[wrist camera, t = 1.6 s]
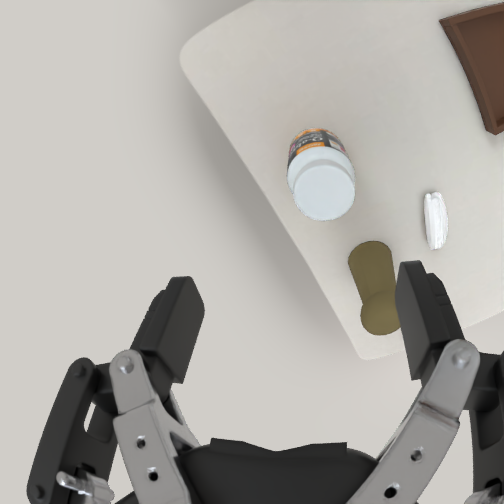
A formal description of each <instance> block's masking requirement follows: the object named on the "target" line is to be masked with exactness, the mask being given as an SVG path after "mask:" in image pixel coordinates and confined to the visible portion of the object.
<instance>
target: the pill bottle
mask: <svg viewBox="0 0 504 504" xmlns="http://www.w3.org/2000/svg"><path fill="white" fill-rule="evenodd" d="M287 182H288V185H289V188H290V190H291V192H292V194H293V196H294V200H295V203H296V205H297V207H298V208H299V210H300V211H301V212H302V213H303V214H304V215H306V216H307V217H309V218H312V219H315V220H319V221H329V220H334V219H337V218H339V217H341V216H342V215H344V214H345V213H346V212H347V211H348V210H349V209H350V207H351V206H352V204H353V202H354V198H355V187H354V184H355V171H354V167H353V165H352V163H351V161H350V159H349V157H348V155H347V153H346V151H345V149H344V147H343V145H342V143H341V141H340V140H339V139H338V137H337V136H336V135H334V134H333V133H332V132H330V131H328V130H325V129H322V128H311V129H307V130H304V131H302V132H301V133H299V134H298V135H297V136H296V137H295V138H294V139H293V141H292V143H291V146H290V150H289V159H288V170H287Z"/></svg>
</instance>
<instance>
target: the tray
mask: <svg viewBox="0 0 504 504" xmlns="http://www.w3.org/2000/svg"><path fill="white" fill-rule="evenodd" d="M439 22H440V23H441V25H442V27H443V29H444V30H445V32H446V34H447V36H448V38H449V40H450V41H451V43H452V45H453V47H454V49H455V51H456V53H457V55H458V57H459V60H460V62H461V64H462V66H463V68H464V70H465V73H466V75H467V77H468V80H469V82H470V85H471V87H472V90H473V92H474V95H475V98H476V100H477V103H478V106H479V109H480V112H481V115H482V118H483V121H484V125H485V128H486V131H489V132H490V133H492V134H494V135H497V134H499V133H501V132H503V131H504V2H503V3H498V4H494V5H489V6H485V7H481V8H477V9H474V10H470V11H467V12H463V13H460V14H457V15H453V16H450V17H447V18H444V19H441V20H439Z"/></svg>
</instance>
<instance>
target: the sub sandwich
mask: <svg viewBox="0 0 504 504" xmlns="http://www.w3.org/2000/svg"><path fill="white" fill-rule="evenodd" d="M424 216H425V226H426V234H427V240H428V244H429V247H430V249H431V250H435V248H436V249H440V248H441V247H442V246H443V245H444V243H445V241H446V237H447V232H448V216H447V210H446V205H445V202H444V200H443V198H442V195H441V194H440V193H439V192H434V193H432V194H431V195H430V194H426V196H425V200H424Z"/></svg>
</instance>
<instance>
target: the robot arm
mask: <svg viewBox="0 0 504 504" xmlns="http://www.w3.org/2000/svg"><path fill="white" fill-rule="evenodd" d="M395 306H396V310H397V314H398V318H399V322H400V326H401V331H402V335H403V339H404V344H405V349H406V353H407V358H408V363H409V369H410V374H411V380H418V379H421V384H422V388H421V389H420V391H419V393H418V395H417V397H416V398H415V400H414V402H413V404H412V405H411V407H410V409H409V410H408V412H407V414H406V415H405V417H404V419H403V420H402V422H401V423H400V425H399V427H398V428H397V430H396V431H395V432H394V434H393V435H392V437H391V438H390V439H389V441H388V442H387V444H386V445H385V446H384V448H383V449H382V450H381V452H380V453H379V455H378V456H377V457H376V459H375V458H373V457H371V456H370V455H368V454H366V453H363V452H361V451H358V450H354V449H349V448H347V442H342V443H323V444H310V445H305V446H301V447H297V448H292V449H288V450H283V451H271V450H268V449H264V448H262V447H258V446H255V445H252V444H249V443H246V442H243V441H234V440H225V439H217V438H211V442H210V444H208V445H203V446H201V445H200V444H199V442H198V440H197V439H196V438H195V436H194V435H193V434H192V432H191V431H190V430H189V428H188V426H187V424H186V422H185V420H184V417H183V415H182V413H181V411H180V409H179V406H178V404H177V402H176V399H175V397H174V394H173V392H172V390H171V385H172V383H181V384H183V381H184V378H185V375H186V372H187V368H188V365H189V362H190V359H191V356H192V352H193V349H194V346H195V343H196V340H197V336H198V333H199V330H200V327H201V324H202V321H203V318H204V311H205V310H204V303H203V301H202V298H201V296H200V294H199V292H198V290H197V287H196V285H195V283H194V281H193V279H192V278H191V277H190V276H184V277H172V278H171V279H170V281H169V283H168V286H167V287H166V289H165V290H162V291H160V293H159V294H158V295H157V296H156V297H155V298H154V299H153V301H152V303H151V305H150V307H149V311H147V313H146V315H145V319H143V322H142V323H141V326H140V328H139V330H138V332H137V334H136V336H135V338H134V341H133V343H132V345H131V347H130V349H129V350H124V351H122V352H120V353H118V354H117V355H116V356H115V357H114V358H113V360H112V361H111V363H105V364H99V365H95V364H94V363H93V362H92V361H91V360H90V359H88V358H79V359H78V360H76V361H74V363H72V364H71V366H70V367H69V369H68V372H67V374H66V376H65V378H64V380H63V383H62V385H61V387H60V390H59V392H58V394H57V397H56V400H55V402H54V405H53V407H52V410H51V412H50V415H49V417H48V420H47V423H46V425H45V428H44V431H43V434H42V437H41V440H40V443H39V446H38V449H37V452H36V455H35V458H34V462H33V465H32V469H31V472H30V476H29V480H28V484H27V496H28V499H29V501H30V503H31V504H111V502H110V501H112V500H113V499H114V492H113V491H112V490H111V489H110V487H109V485H108V483H107V482H108V479H109V475H110V471H111V467H112V463H113V458H114V455H115V452H116V448H117V444H119V447H120V451H121V454H122V457H123V460H124V463H125V466H126V469H127V472H128V475H129V478H130V481H131V483H132V486H133V489H134V491H133V492H131V493H130V494H128V495H127V496H125V497H124V498H122V499H121V500H119V501H118V502H117V503H115V504H418V503H417V500H418V498H419V497H420V495H421V494H422V492H423V491H424V489H425V488H426V486H427V485H428V483H429V482H430V480H431V479H432V477H433V475H434V474H435V472H436V471H437V469H438V467H439V466H440V464H441V462H442V460H443V459H444V457H445V455H446V453H447V451H448V449H449V448H450V446H451V444H452V442H453V440H454V438H455V436H456V434H457V432H458V429H459V426H460V422H459V417H460V414H461V412H462V410H469V415H470V423H471V433H472V445H473V446H472V447H473V494H472V495H471V496H469V498H468V499H467V500H466V501H465V503H464V504H504V351H503V353H502V354H501V355H497V354H488V353H481V352H478V350H477V348H476V347H475V346H474V345H473V344H472V343H471V342H469V341H467V340H465V338H464V335H463V333H462V330H461V327H460V324H459V322H458V319H457V316H456V314H455V311H454V309H453V306H452V304H451V301H450V299H449V297H448V295H447V292H446V290H445V287H444V285H443V283H442V281H441V280H440V279H439V278H438V277H437V276H436V275H435V274H434V273H428V274H426V271H425V269H424V267H423V265H422V263H421V261H420V260H417V261H406V262H401V263H400V266H399V272H398V278H397V284H396V289H395ZM91 402H92V403H94V404H95V405H96V406H95V409H94V412H93V415H92V418H91V421H90V424H89V427H88V430H87V432H86V431H85V429H84V421H85V418H86V415H87V412H88V410H89V407H90V404H91Z"/></svg>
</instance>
